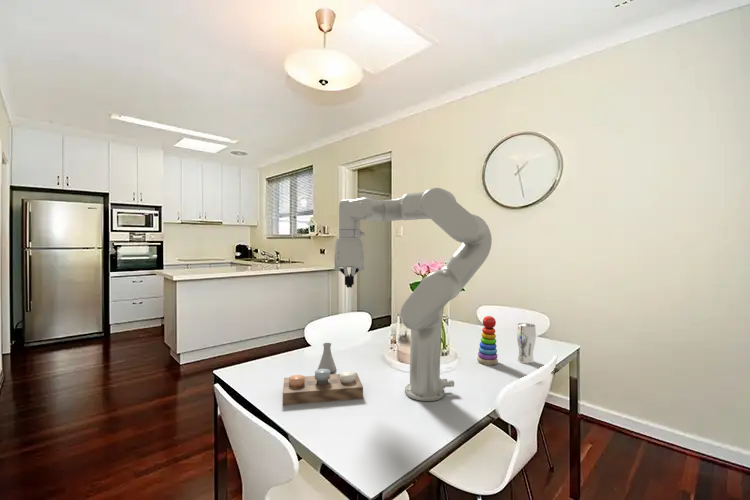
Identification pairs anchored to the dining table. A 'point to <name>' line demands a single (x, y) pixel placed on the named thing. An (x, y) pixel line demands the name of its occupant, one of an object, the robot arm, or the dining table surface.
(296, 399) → the button panel
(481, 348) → the stacking toy
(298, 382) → the terracotta button
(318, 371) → the slate button
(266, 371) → the dining table surface
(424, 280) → the robot arm
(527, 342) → the beer glass
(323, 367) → the flask
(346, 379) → the ivory button
